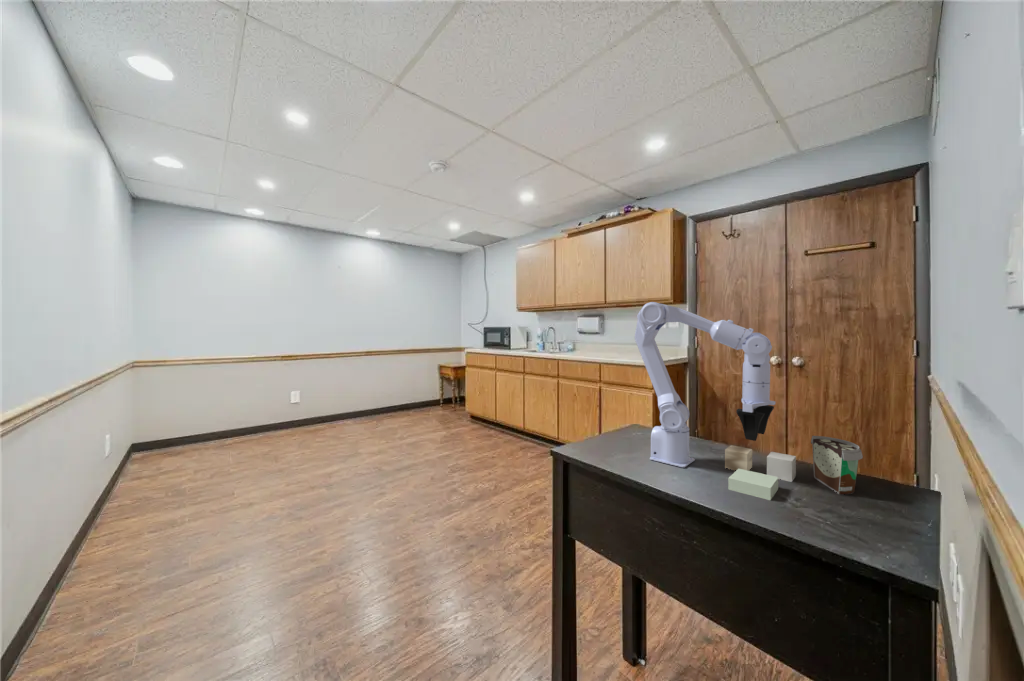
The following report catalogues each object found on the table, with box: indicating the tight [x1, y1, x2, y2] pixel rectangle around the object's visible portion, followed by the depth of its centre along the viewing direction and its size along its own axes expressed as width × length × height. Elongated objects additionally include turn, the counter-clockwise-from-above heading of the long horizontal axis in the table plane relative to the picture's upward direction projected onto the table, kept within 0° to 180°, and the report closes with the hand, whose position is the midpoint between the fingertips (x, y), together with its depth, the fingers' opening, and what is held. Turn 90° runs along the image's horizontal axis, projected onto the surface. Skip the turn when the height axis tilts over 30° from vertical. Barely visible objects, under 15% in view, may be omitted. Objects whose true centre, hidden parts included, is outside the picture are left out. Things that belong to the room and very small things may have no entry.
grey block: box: [766, 451, 797, 483], centre depth 93 cm, size 5×5×5 cm
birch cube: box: [724, 444, 753, 471], centre depth 98 cm, size 5×5×5 cm
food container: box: [810, 435, 863, 495], centre depth 86 cm, size 12×6×10 cm, turn 168°
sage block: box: [727, 468, 779, 501], centre depth 86 cm, size 8×8×3 cm
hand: (755, 436), depth 94 cm, fingers open, 7 cm apart
